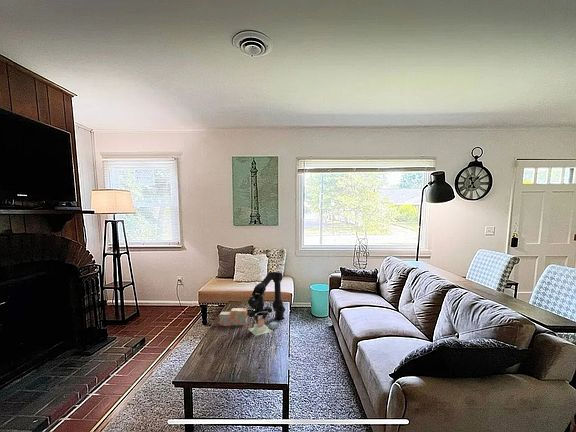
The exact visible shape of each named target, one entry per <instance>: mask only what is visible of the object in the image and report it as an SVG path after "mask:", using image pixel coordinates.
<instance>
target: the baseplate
mask: <svg viewBox="0 0 576 432" xmlns="http://www.w3.org/2000/svg"><path fill="white" fill-rule="evenodd" d="M248 331H250V333H251V334H253V335H254V336H255V337H257V336H260V335H263V334H267V333H272V332H273V329H272V328H270V327H268V326H267V325H266V331H263V332H259V333H258V332H256V331H255V330H254V326H253V327H250V328H248Z"/></svg>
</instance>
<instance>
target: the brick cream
mask: <svg viewBox="0 0 576 432" xmlns="http://www.w3.org/2000/svg"><path fill="white" fill-rule="evenodd" d="M266 326H267V325H266V324H264V325H261V326H258V325H257V324H256V323H255V324H253V327H254V330H255V331H256V332H258V333H259V332H263V331H266Z"/></svg>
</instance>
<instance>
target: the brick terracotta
mask: <svg viewBox="0 0 576 432" xmlns="http://www.w3.org/2000/svg"><path fill="white" fill-rule="evenodd" d="M257 325H258V326H261V325H265V320H264V319H263V318H262V316H261V317H260V316H259V317H258V323H257Z"/></svg>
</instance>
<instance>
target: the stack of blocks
mask: <svg viewBox="0 0 576 432" xmlns="http://www.w3.org/2000/svg"><path fill="white" fill-rule="evenodd" d="M247 312H248V308H246V307H245V308H244V307H240V308H239V307H237V308H235V307H233V308H231V310H230V311H221V312H220V314H219V326H221V327H222V326H223V327H224V326H225V327H226V326H227V327H231V326H247V324H248V315H247Z"/></svg>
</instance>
